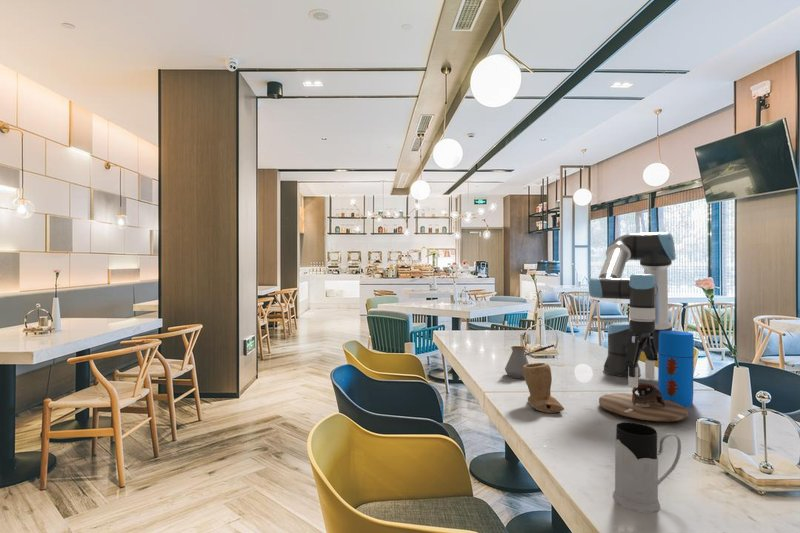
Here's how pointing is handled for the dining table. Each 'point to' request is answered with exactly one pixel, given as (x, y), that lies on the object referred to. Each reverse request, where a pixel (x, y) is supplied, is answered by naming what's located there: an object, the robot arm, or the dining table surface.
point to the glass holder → (639, 466)
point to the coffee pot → (519, 361)
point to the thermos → (676, 366)
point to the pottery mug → (647, 394)
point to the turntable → (642, 408)
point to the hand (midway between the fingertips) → (641, 382)
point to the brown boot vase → (540, 387)
